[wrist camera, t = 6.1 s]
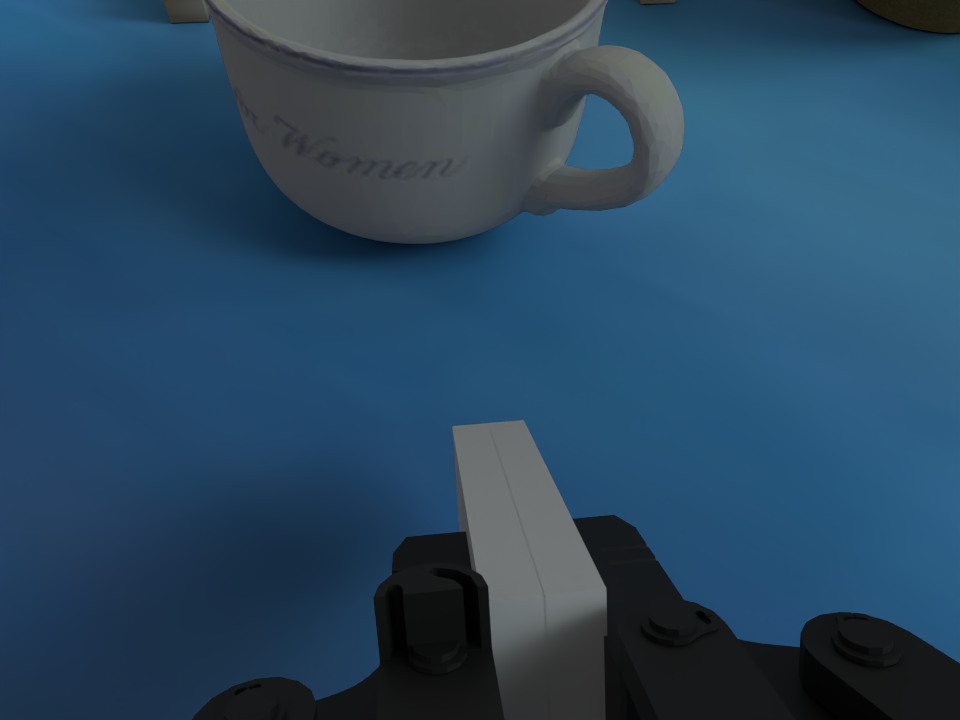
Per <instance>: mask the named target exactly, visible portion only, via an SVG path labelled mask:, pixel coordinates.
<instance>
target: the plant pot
mask: <svg viewBox="0 0 960 720" xmlns="http://www.w3.org/2000/svg"><path fill="white" fill-rule="evenodd" d="M856 1H857V2H859V3H860V4H861V5H863V6H864V7H866V8H867V9H869V10H871V11H872V12H874V13H876V14H878V15H880V16H882V17H884V18H886V19H888V20H891V21H893V22H896V23H899V24H901V25H905V26H908V27H912V28H916V29H920V30H926V31H932V32H940V33H960V0H856Z"/></svg>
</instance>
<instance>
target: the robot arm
mask: <svg viewBox="0 0 960 720" xmlns="http://www.w3.org/2000/svg"><path fill="white" fill-rule="evenodd" d="M452 431H453V445H454V459H455V473H456V487H457V502H458V516H459V530H460V532H454V533H444V534H434V535H423V536H413V537H406V538H405V539H404V541H403V542H402V543H401V544H400V546H399V547H398V548H397V549H396V551H395V552H394V553H393V563H392V575H391V576H390V577H389V578H387V579H386V580H385V581H384V582H383V583H381V584H380V585H379V587H378V589H377V591H376V593H375V596H374V607H375V616H376V626H377V636H378V645H379V655H380V666H379V667H378V668H377V669H376V670H375V671H374V672H373V673H372V674H371V675H370V676H369V677H368V678H366V679H365V680H363V681H362V682H360V683H358V684H357V685H355V686H354V687H351V688H349V689H347V690H344V691H342V692H340V693H337V694H335V695H332V696H329V697H326V698H323V699H320V700H317V701H315V699H314V696H313V694H312V691H311V690H310V689H309V688H307V687H306V686H304V685H303V684H302V683H300V682H299V681H296V680H291V679H286V678H281V677H273V678H261V679H255V680H251V681H248V682H245V683H242V684H239V685H236V686H233V687H231V688H229V689H228V690H226V691H224V692H223V693H221V694H219V695H217V696H216V697H214V698H212V699H211V700H210V701H209V702H208V703H207V704H206V705H205V706H204V707H203V708H202V709H201V710H200V711H199V712H198V713H197V714H196V715H195V716H194V718H193V719H192V720H960V663H958V662H957V661H955V660H953V659H952V658H950V657H949V656H947V655H945V654H944V653H942V652H941V651H939V650H938V649H936V648H934V647H933V646H931V645H930V644H928V643H926V642H925V641H923V640H922V639H920V638H918V637H917V636H915V635H914V634H912V633H910V632H909V631H907V630H905V629H903V628H901V627H899V626H896V625H894V624H892V623H890V622H888V621H885V620H882V619H878V618H875V617H871V616H868V615H866V614H860V613H851V612H838V613H830V614H823V615H819V616H817V617H815V618H813V619H811V620H809V621H808V622H806V624H805V626H804V628H803V630H802V632H801V637H800V647H791V646H781V645H771V644H761V643H755V642H749V641H743V640H739V639H737V638H736V636H735V635H734V634H733V632H732V631H731V629H730V628H729V627H728V625H727V624H726V623H725V622H724V621H723V620H722V619H721V618H720V617H719V616H718V615H717V614H716V613H715V612H713V611H712V610H709V609H707V608H705V607H703V606H701V605H699V604H697V603H694V602H689V601H685V600H684V599H683V598H682V596H681V595H680V593H679V592H678V591H677V589H676V588H675V586H674V585H673V583H672V582H671V580H670V579H669V577H668V576H667V574H666V573H665V571H664V570H663V568H662V567H661V565H660V564H659V562H658V561H656V560H655V556H654V555H653V553H652V552H651V550H650V549H649V547H647V546H646V543H645V541H644V540H643V538H642V537H641V535H640V534H639V532H638V531H637V529H636V528H635V527H634V526H632V525H630V524H629V523H627V522H625V521H624V520H622V519H620V518H619V517H617V516H615V515H609V516H598V517H588V518H577V519H572V517H571V515H570V513H569V511H568V509H567V507H566V505H565V503H564V501H563V499H562V497H561V495H560V493H559V491H558V489H557V487H556V485H555V483H554V481H553V479H552V477H551V475H550V473H549V471H548V469H547V467H546V464H545V462H544V460H543V458H542V456H541V454H540V452H539V450H538V448H537V446H536V444H535V442H534V440H533V438H532V436H531V434H530V432H529V430H528V428H527V426H526V424H525V422H524V420H519V421H508V422H496V423H484V424H472V425H460V426H452Z"/></svg>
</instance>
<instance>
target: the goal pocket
mask: <svg viewBox="0 0 960 720" xmlns="http://www.w3.org/2000/svg"><path fill="white" fill-rule="evenodd" d="M639 1H640V3H641V4H658V3H675V1H676V0H639ZM163 3H164V6H165V8H166V11H167V14H168V16H169V19H170V22H171V23H181V22H207V21H209V17H210V10H209V7H208V6H207V4H206V3H205V1H204V0H163Z"/></svg>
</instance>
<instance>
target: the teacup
mask: <svg viewBox="0 0 960 720" xmlns="http://www.w3.org/2000/svg"><path fill="white" fill-rule="evenodd" d="M204 1H205V3H206V4H207V6H208V7H209V10H210V13H211V17H212V21H213V25H214V28H215V32H216V36H217V40H218V43H219V47H220V51H221V55H222V58H223V62H224V65H225V68H226V71H227V75H228V78H229V81H230V85H231V88H232V91H233V94H234V98H235V101H236V104H237V107H238V110H239V113H240V116H241V119H242V121H243V124H244V127H245V130H246V132H247V135H248V138H249V140H250V143H251V145H252V147H253V149H254V151H255V153H256V155H257V157H258V159H259V161H260V163H261V164H262V166H263V168H264V169H265V171H266V172H267V174H268V175H269V176H270V178H271V179H272V181H273V182H274V183H275V184H276V186H277V187H278V188H279V189H280V190H281V191H282V192H283V193H284V194H285V195H286V196H287V197H288V198H289V199H290V200H292V201H293V202H294V203H295V204H296V205H297V206H298V207H299V208H301V209H302V210H304V211H305V212H307V213H308V214H310V215H311V216H313V217H315V218H316V219H318V220H320V221H322V222H324V223H325V224H328V225H330V226H332V227H335V228H337V229H340V230H342V231H345V232H347V233H350V234H353V235H356V236H359V237H363V238H368V239H373V240H377V241H383V242H392V243H402V244H430V243H438V242H446V241H453V240H458V239H463V238H466V237H470V236H473V235H476V234H480V233H483V232H485V231H488V230H490V229H492V228H495V227H497V226H499V225H501V224H503V223H505V222H507V221H509V220H511V219H512V218H514V217H515V216H517V215H518V214H520V213H521V212H525V211H527V212H529V213H532V214H534V215H540V216H545V215H548V214H552V213H554V212H555V211H556V210H558V209H559V208H562V209H570V210H594V211H601V210H608V209H614V208H621V207H626V206H628V205H630V204H632V203H634V202H636V201H638V200H641V199H643V198H645V197H647V196H648V195H649V194H650V193H651V192H652V191H654V190H655V189H656V188H657V187H658V186H659V185H660V184H661V182H662V181H663V180H664V179H665V178H666V177H667V175H668V174H669V173H670V172H671V171H672V169H673V167H674V165H675V164H676V162H677V160H678V158H679V156H680V153H681V150H682V144H683V136H684V117H683V108H682V105H681V102H680V100H679V97H678V94H677V91H676V89H675V87H674V86H673V84H672V82H671V81H670V79H669V78H668V76H667V74H666V73H665V72H664V71H663V70H662V69H661V68H660V67H659V66H658V65H656V64H655V63H654V62H653V61H652V60H650V59H649V58H647V57H646V56H644V55H643V54H641V53H640V52H638V51H635V50H632V49H629V48H626V47H623V46H613V45H603V46H598V41H599V36H600V31H601V25H602V20H603V15H604V10H605V6H606V4H607V2H608V0H204ZM588 94H595V95H597V96H599V97H601V98H604V99H606V100H607V101H609V102H610V103H611V104H612V105H613V106H614V107H615V108H617V109H618V110H619V111H620V113H621V114H622V116H623V117H624V118H625V120H626V121H627V123H628V125H629V128H630V132H631V135H632V138H633V142H634V154H633V159H632V161H631V162H630V163H629V164H628V165H625V166H622V167H618V168H613V169H602V170H590V169H581V168H576V167H572V166H567V165H565V162H566V160H567V158H568V156H569V154H570V151H571V149H572V146H573V144H574V141H575V138H576V135H577V132H578V128H579V125H580V121H581V118H582V114H583V110H584V106H585V101H586V97H587V95H588Z"/></svg>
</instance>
